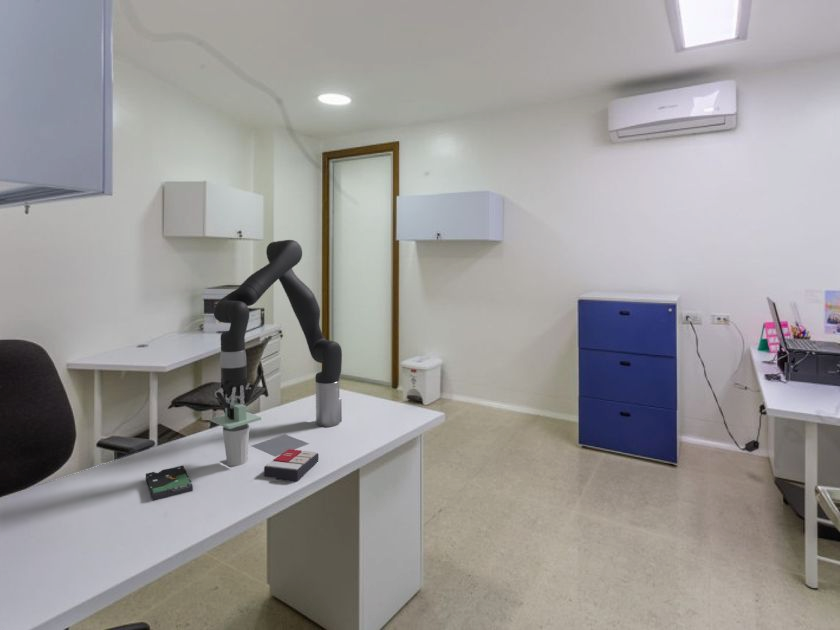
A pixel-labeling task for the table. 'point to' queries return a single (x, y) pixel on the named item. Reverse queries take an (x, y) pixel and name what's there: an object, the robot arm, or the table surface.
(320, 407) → the robot arm
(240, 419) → the cover
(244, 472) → the table surface
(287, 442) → the mat
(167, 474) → the disk drive
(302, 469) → the red white black box
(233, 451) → the cup
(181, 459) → the table surface
